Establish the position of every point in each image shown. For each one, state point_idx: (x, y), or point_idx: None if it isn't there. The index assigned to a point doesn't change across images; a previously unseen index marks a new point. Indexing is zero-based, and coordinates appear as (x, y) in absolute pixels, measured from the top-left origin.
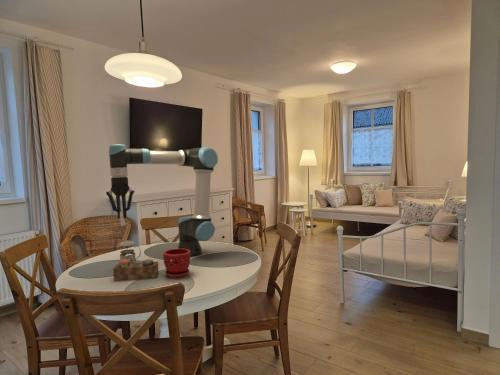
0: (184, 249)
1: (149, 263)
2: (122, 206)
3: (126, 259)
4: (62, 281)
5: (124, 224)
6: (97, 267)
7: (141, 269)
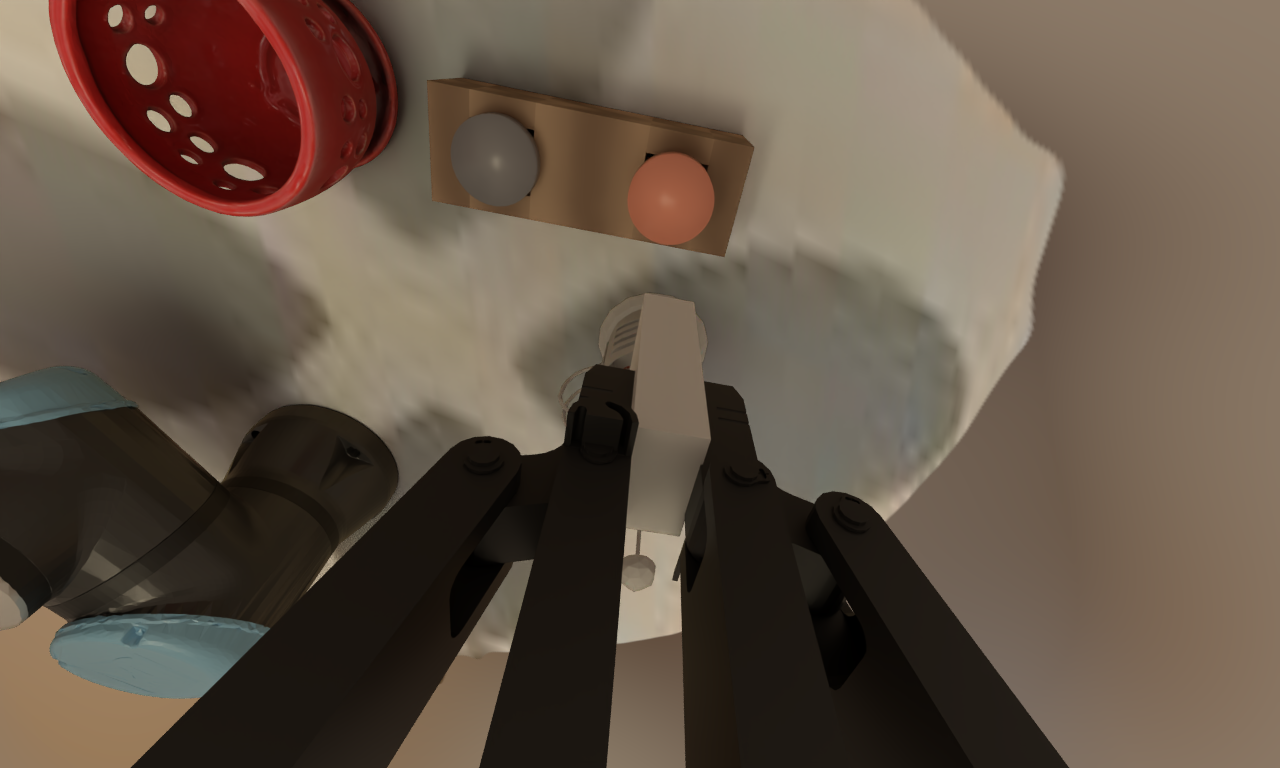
0: (152, 166)
1: (478, 115)
2: (622, 552)
3: (654, 221)
4: (1025, 282)
5: (635, 340)
6: (814, 437)
7: (549, 103)
